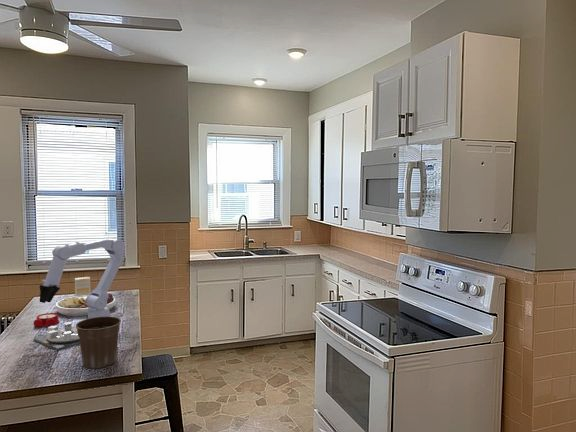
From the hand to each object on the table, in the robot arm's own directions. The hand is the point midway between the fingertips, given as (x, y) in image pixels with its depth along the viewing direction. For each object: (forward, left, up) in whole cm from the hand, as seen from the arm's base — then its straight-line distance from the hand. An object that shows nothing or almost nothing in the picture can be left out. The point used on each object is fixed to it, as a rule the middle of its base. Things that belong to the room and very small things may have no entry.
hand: (44, 302), depth 194 cm
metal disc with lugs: (-6, +7, -16) cm, 18 cm away
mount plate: (-6, +7, -17) cm, 19 cm away
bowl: (-37, -30, -18) cm, 51 cm away
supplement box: (-48, -52, -17) cm, 73 cm away
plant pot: (+1, +42, -17) cm, 45 cm away
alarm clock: (-11, -21, -17) cm, 30 cm away
